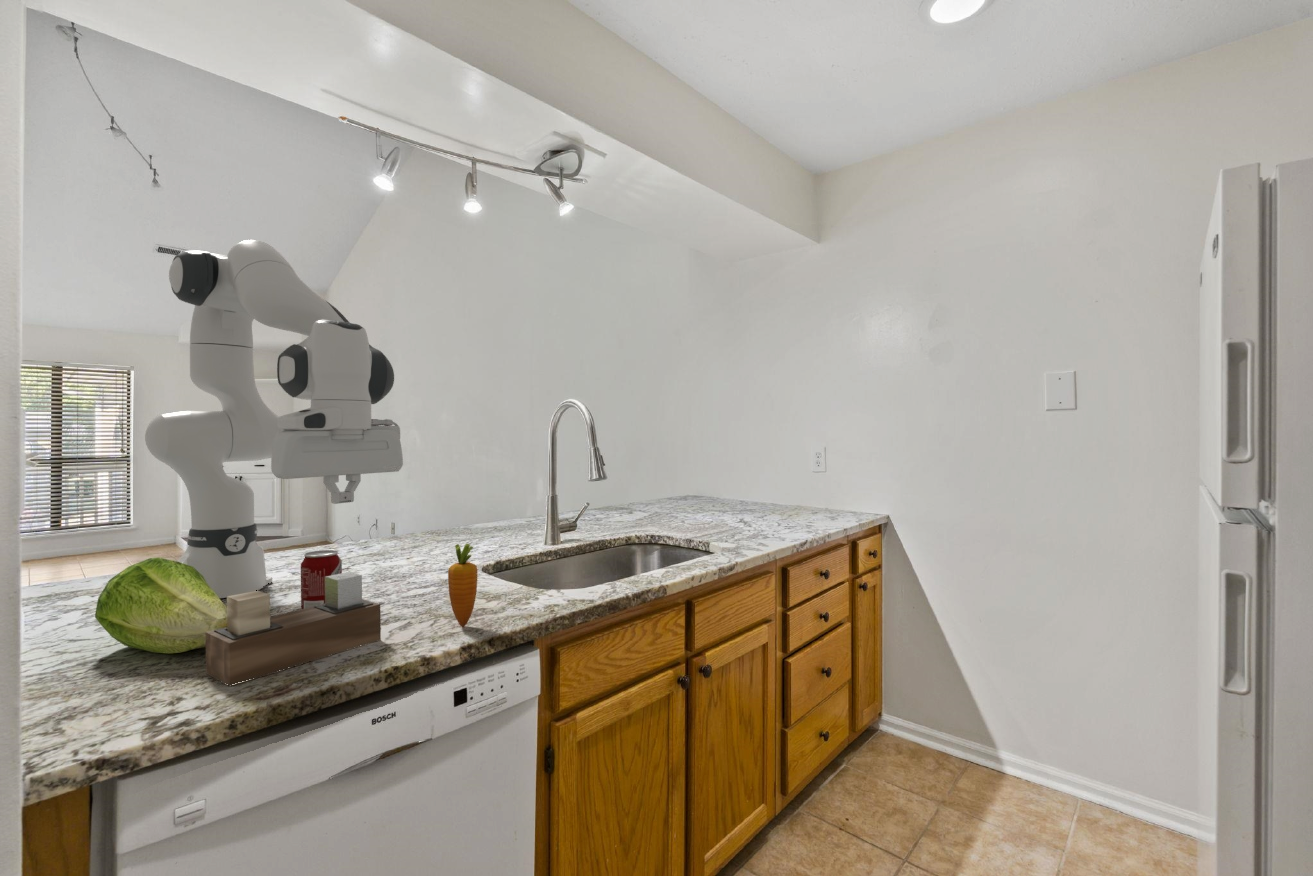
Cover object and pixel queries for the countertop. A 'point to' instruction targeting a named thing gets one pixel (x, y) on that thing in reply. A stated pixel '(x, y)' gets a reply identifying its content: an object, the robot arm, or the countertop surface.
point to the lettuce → (160, 607)
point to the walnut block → (290, 641)
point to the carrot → (462, 585)
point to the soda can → (317, 575)
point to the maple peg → (248, 612)
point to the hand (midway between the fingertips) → (342, 502)
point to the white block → (343, 591)
